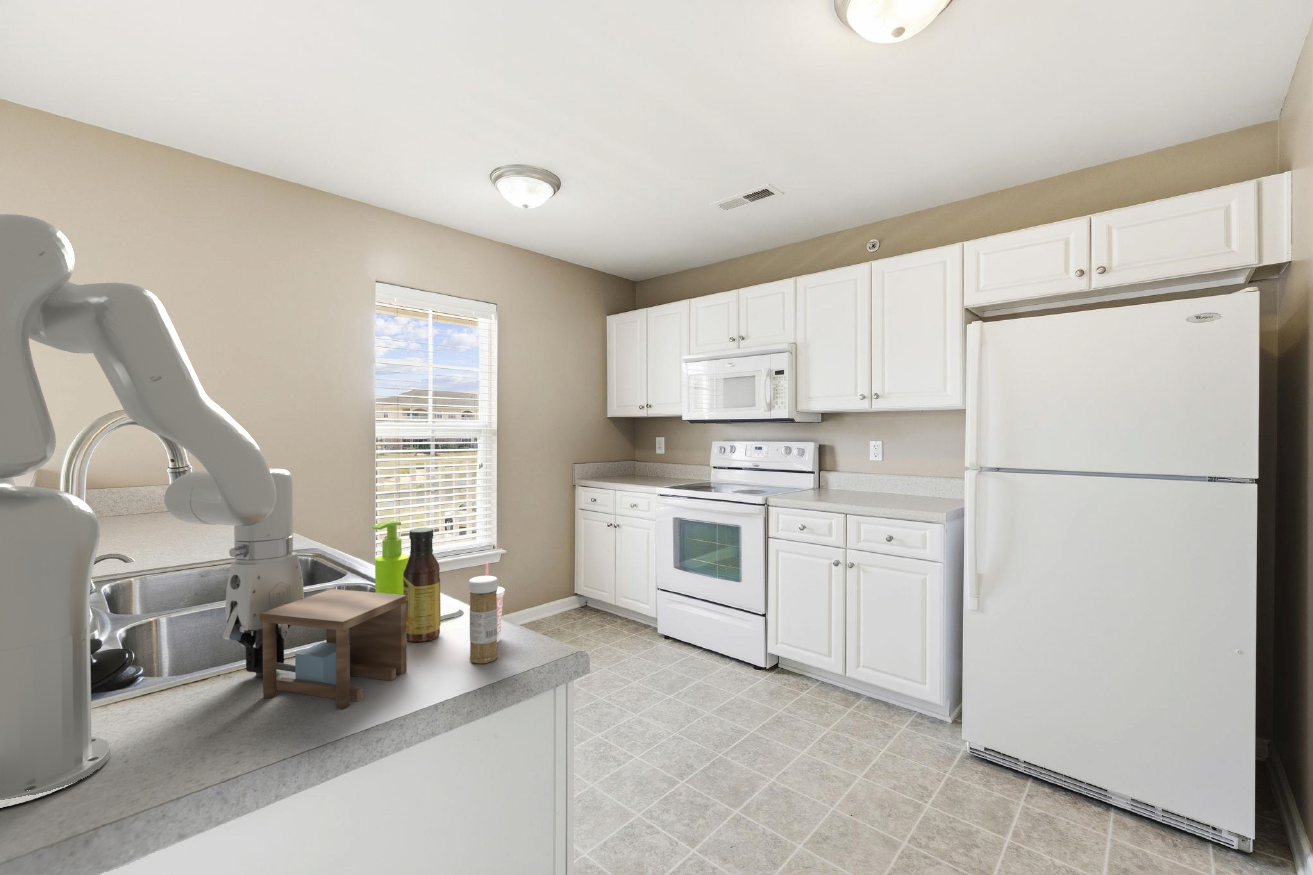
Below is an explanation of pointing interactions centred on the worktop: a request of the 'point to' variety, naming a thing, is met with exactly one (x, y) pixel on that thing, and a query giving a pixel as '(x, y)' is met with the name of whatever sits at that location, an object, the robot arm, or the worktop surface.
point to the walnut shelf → (342, 640)
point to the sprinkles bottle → (483, 619)
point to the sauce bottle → (422, 588)
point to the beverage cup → (498, 606)
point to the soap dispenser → (390, 562)
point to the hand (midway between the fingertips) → (265, 666)
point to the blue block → (314, 664)
